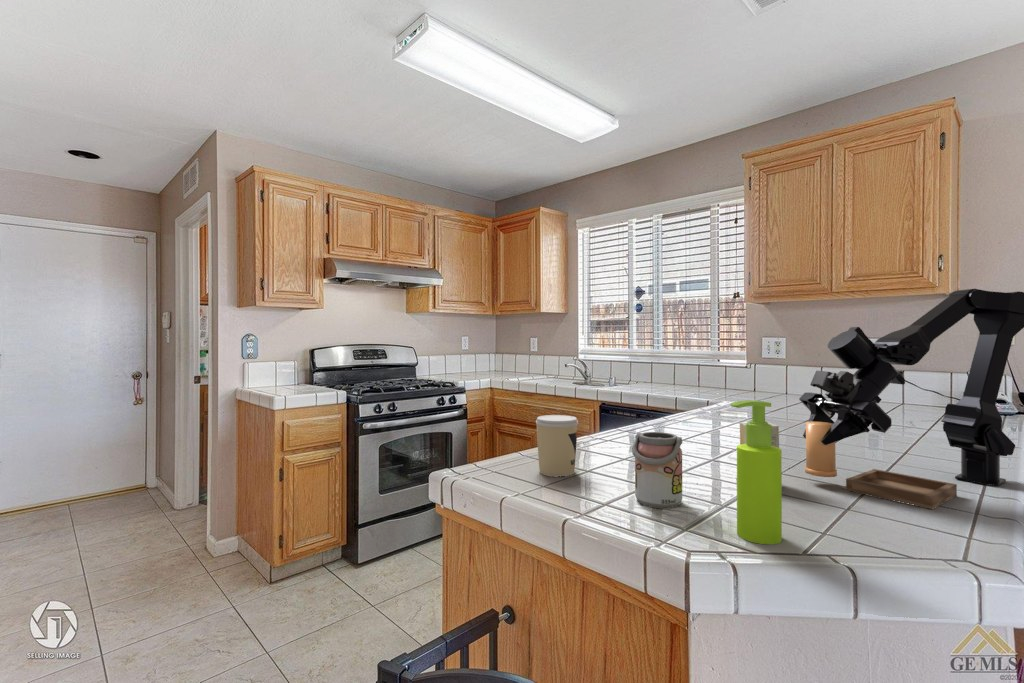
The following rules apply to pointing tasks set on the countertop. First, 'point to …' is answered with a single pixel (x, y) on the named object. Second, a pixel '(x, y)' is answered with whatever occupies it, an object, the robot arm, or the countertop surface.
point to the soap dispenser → (759, 480)
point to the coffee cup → (557, 444)
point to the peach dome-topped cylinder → (819, 451)
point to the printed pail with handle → (658, 469)
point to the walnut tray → (902, 488)
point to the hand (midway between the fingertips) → (813, 440)
